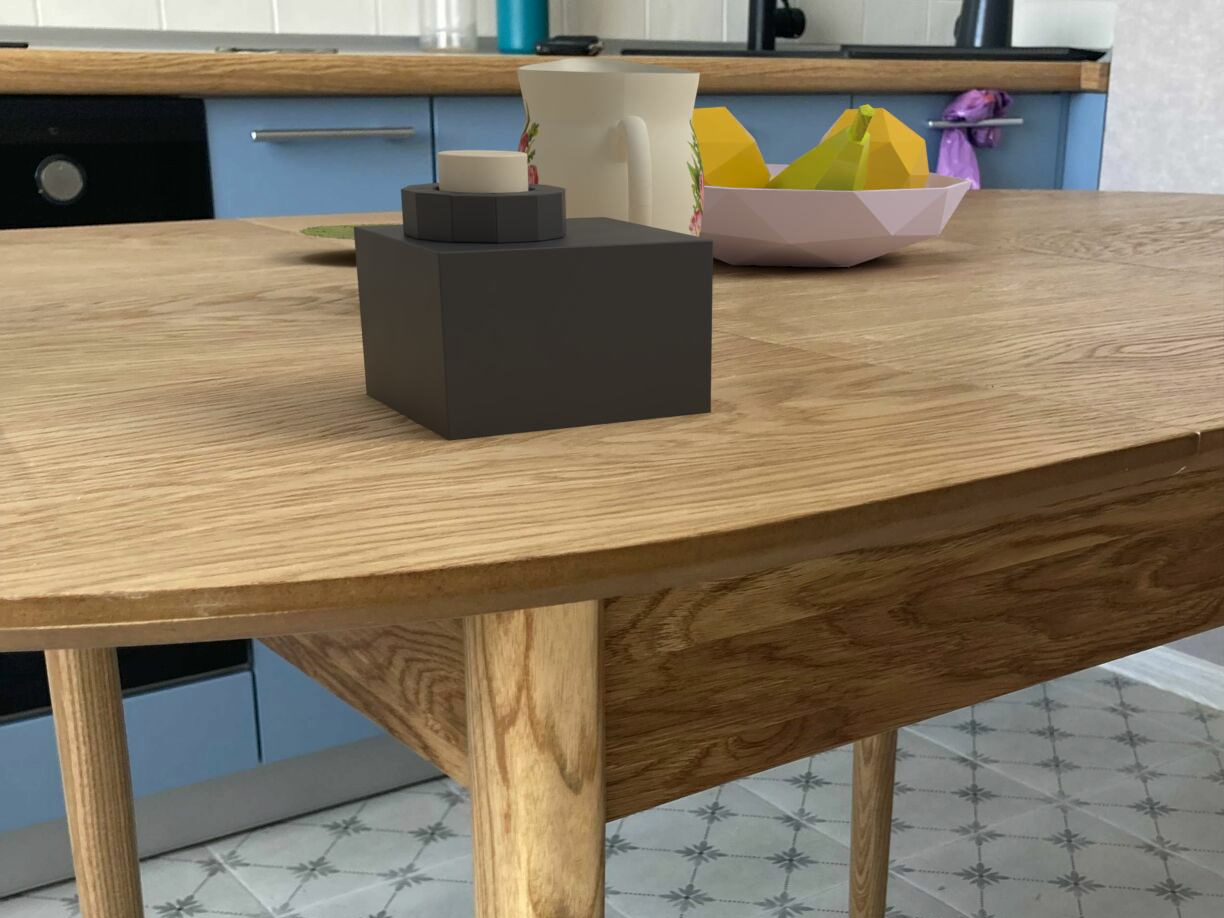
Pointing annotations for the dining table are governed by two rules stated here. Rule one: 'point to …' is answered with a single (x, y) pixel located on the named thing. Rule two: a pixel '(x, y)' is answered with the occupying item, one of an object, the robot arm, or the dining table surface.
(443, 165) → the lid button
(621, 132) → the pitcher
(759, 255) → the fruit bowl
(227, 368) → the dining table surface
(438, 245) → the base
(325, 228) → the mat
